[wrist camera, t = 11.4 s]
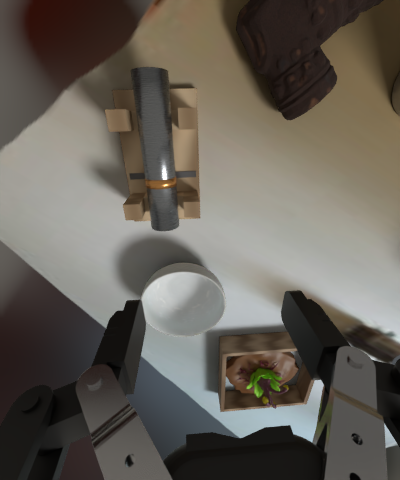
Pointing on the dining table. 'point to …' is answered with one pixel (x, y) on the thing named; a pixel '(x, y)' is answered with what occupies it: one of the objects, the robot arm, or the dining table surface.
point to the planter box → (259, 345)
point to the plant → (262, 373)
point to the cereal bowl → (183, 300)
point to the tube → (156, 144)
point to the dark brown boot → (295, 46)
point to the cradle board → (184, 152)
